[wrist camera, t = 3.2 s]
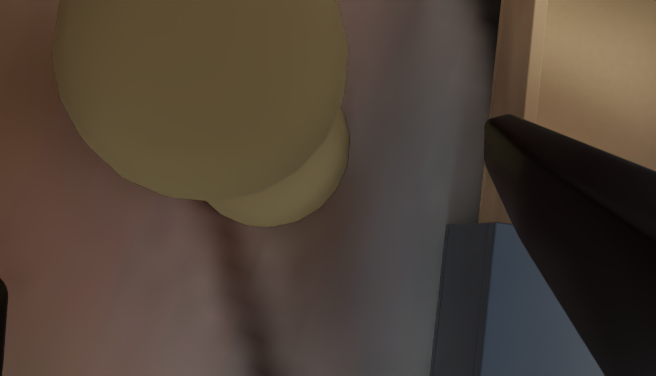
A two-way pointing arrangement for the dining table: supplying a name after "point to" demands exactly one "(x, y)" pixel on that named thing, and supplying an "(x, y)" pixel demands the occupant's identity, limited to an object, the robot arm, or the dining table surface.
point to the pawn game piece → (211, 98)
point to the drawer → (577, 77)
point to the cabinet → (500, 311)
